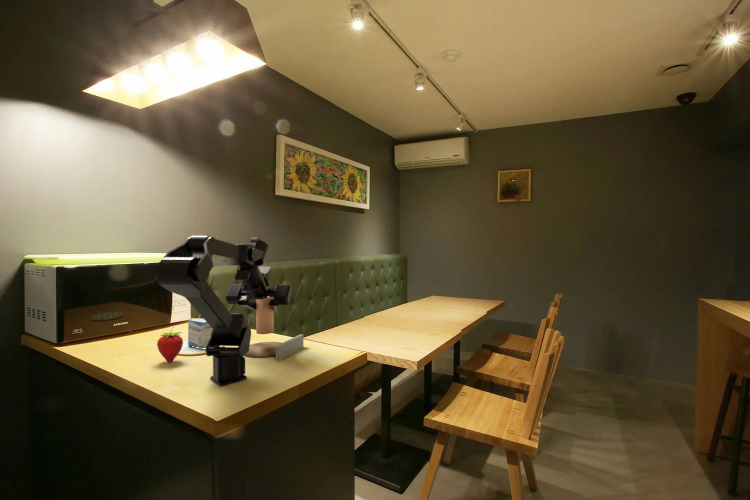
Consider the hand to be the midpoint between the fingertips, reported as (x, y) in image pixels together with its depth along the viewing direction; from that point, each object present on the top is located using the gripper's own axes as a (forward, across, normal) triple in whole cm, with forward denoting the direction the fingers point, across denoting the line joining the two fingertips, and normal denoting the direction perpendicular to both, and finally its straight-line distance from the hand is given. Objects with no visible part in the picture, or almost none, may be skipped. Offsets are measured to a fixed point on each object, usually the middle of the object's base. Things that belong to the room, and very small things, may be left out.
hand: (266, 310), depth 110 cm
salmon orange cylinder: (+4, 0, +6) cm, 7 cm away
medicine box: (+10, +22, +8) cm, 26 cm away
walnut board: (+8, 0, +10) cm, 12 cm away
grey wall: (+6, -9, +11) cm, 15 cm away
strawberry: (-1, +22, +19) cm, 29 cm away
